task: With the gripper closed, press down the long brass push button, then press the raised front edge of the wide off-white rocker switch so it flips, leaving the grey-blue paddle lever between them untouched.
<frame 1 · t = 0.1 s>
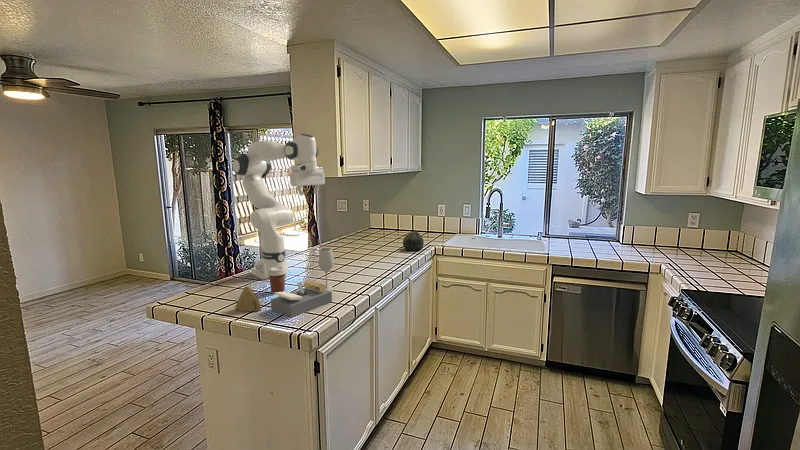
hand: (308, 194, 198), 48 cm above the worktop, tool pointing down, fingers open, 8 cm apart
rock: (248, 310, 172), on the worktop
button: (314, 285, 182), point 8 cm above the worktop, slide at 0.0 cm
squash: (413, 250, 290), on the worktop
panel: (302, 305, 177), on the worktop
wineglass: (326, 289, 200), on the worktop
paddle: (300, 288, 176), point 8 cm above the worktop, hinge at -18.0°
coffee cup: (278, 292, 196), on the worktop
rocker: (288, 295, 170), point 7 cm above the worktop, hinge at -12.0°
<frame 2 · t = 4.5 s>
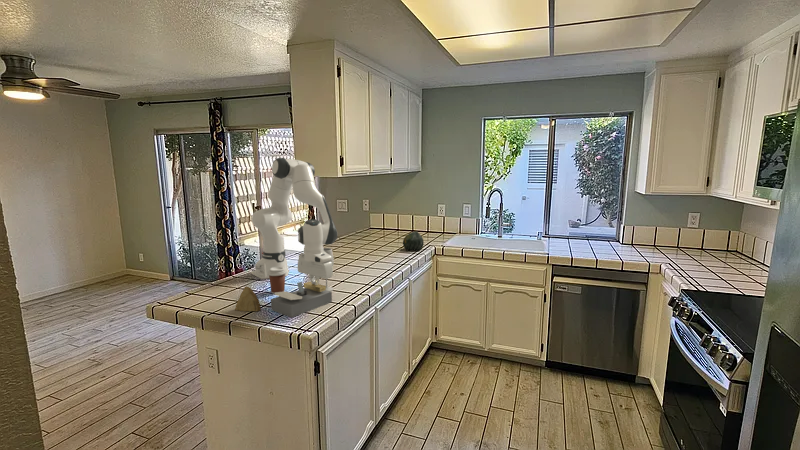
hand: (315, 284, 182), 8 cm above the worktop, tool pointing down, fingers closed, pressing on button
button: (314, 286, 182), point 7 cm above the worktop, slide at 0.4 cm, touching gripper
everything else where it was.
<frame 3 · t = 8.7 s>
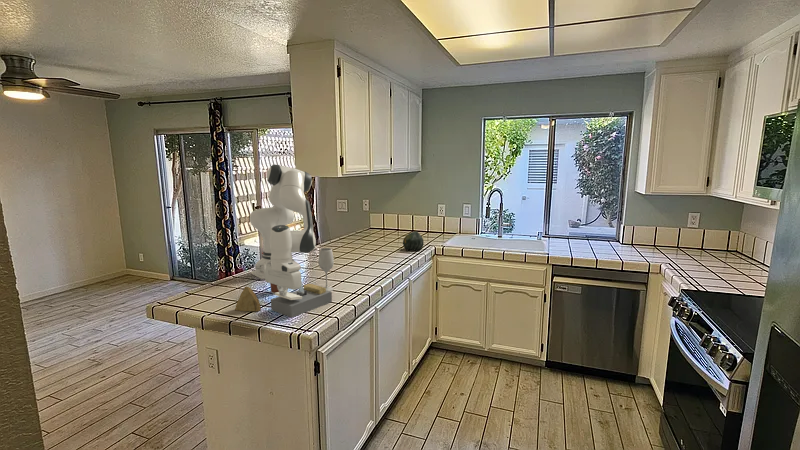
hand: (283, 295, 167), 8 cm above the worktop, tool pointing down, fingers closed, pressing on rocker
button: (314, 288, 182), point 6 cm above the worktop, slide at 1.4 cm
rocker: (288, 295, 170), point 7 cm above the worktop, hinge at -10.6°, touching gripper
everything else where it was.
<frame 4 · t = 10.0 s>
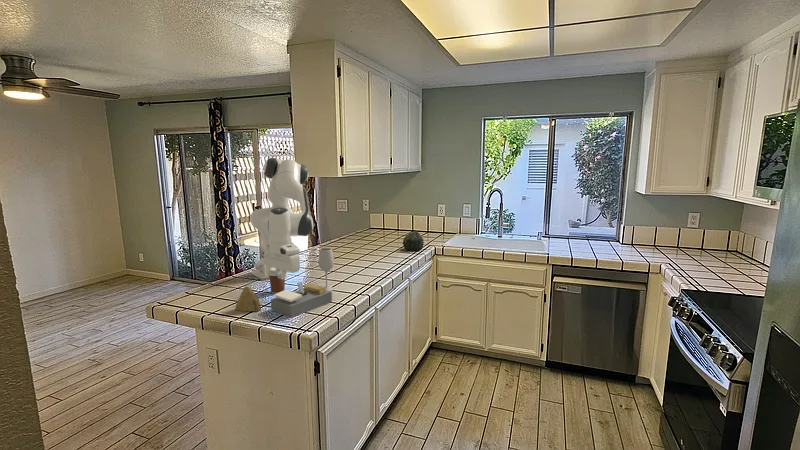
hand: (281, 278, 167), 15 cm above the worktop, tool pointing down, fingers closed
rocker: (288, 295, 170), point 7 cm above the worktop, hinge at 5.6°
everything else where it was.
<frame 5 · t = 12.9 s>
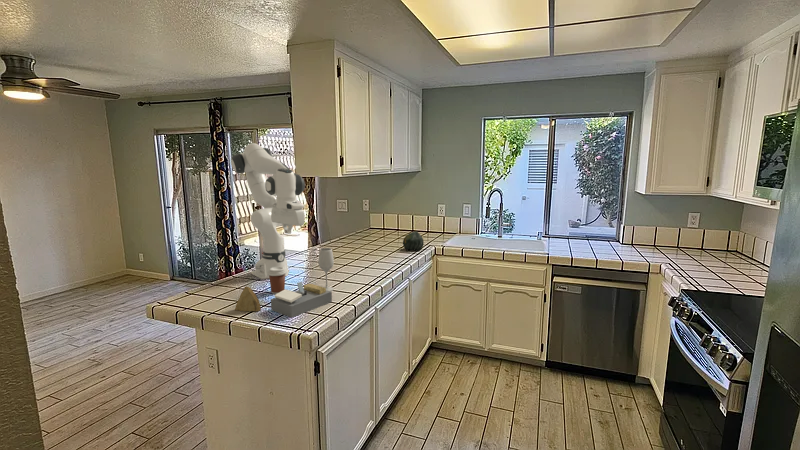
hand: (287, 233, 184), 31 cm above the worktop, tool pointing down, fingers closed
rocker: (288, 295, 170), point 7 cm above the worktop, hinge at 10.4°
everything else where it was.
at the end: button slide at 1.4 cm; rocker at +10° (first picture: -12°); paddle at -18° (first picture: -18°) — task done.
